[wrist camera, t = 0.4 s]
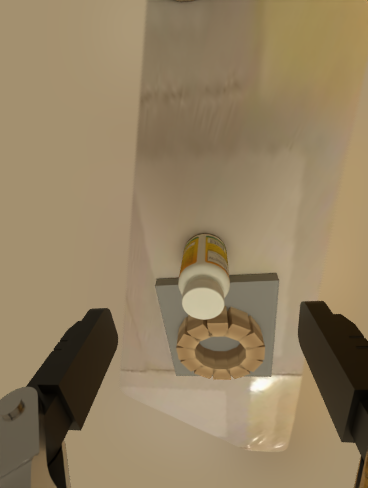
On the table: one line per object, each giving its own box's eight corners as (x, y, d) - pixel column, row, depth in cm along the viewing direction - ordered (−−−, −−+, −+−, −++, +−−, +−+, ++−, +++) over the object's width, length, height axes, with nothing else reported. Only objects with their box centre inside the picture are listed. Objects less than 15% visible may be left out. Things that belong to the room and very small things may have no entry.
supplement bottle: (224, 230, 29) (231, 279, 20) (227, 267, 31) (234, 324, 23) (180, 234, 30) (170, 283, 21) (186, 269, 32) (179, 325, 24)
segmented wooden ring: (174, 307, 34) (171, 324, 31) (261, 304, 32) (266, 322, 29) (184, 361, 39) (182, 379, 37) (259, 361, 38) (263, 379, 35)
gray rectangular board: (157, 278, 33) (155, 285, 32) (276, 273, 31) (279, 280, 30) (177, 367, 43) (176, 375, 42) (269, 368, 41) (271, 376, 39)
